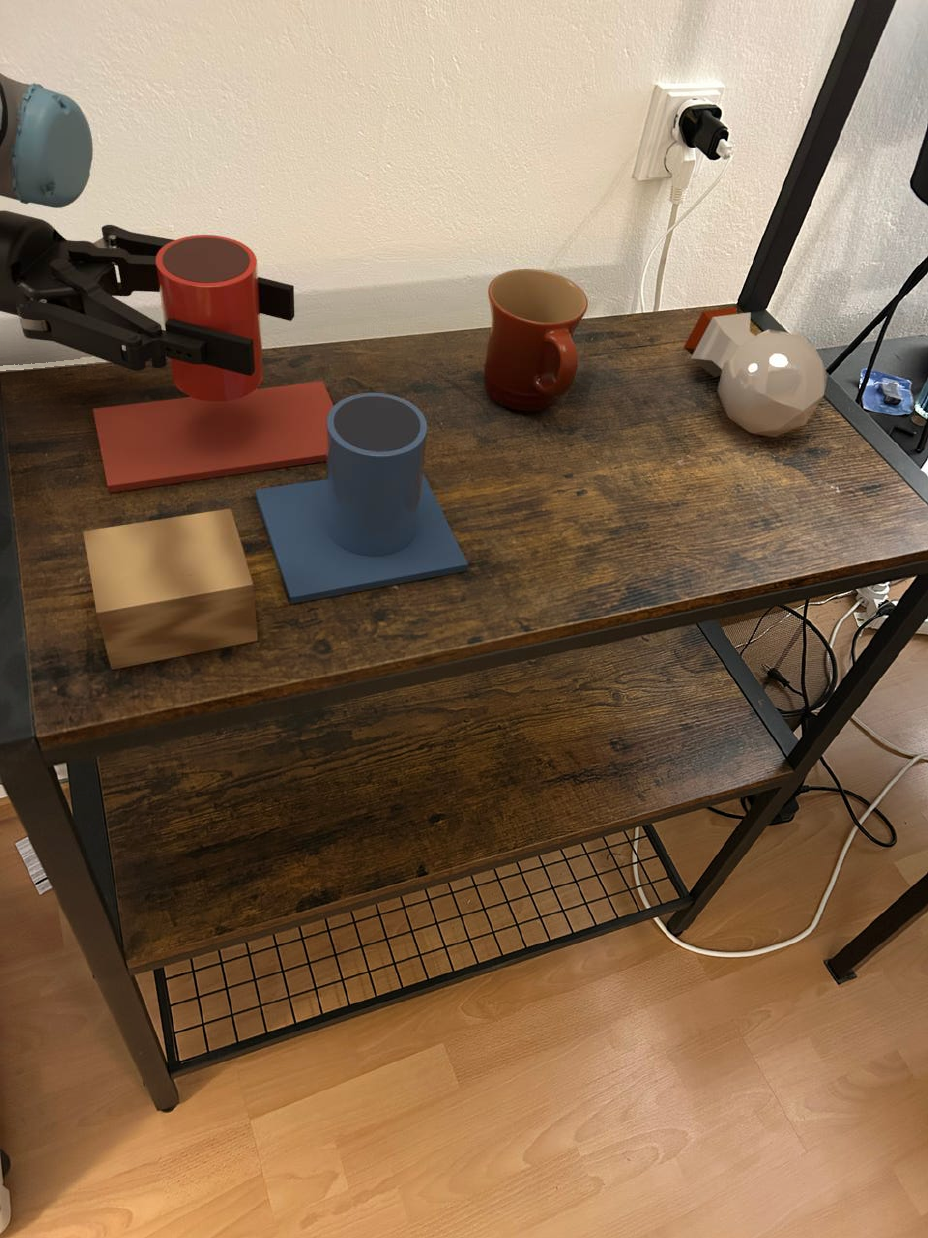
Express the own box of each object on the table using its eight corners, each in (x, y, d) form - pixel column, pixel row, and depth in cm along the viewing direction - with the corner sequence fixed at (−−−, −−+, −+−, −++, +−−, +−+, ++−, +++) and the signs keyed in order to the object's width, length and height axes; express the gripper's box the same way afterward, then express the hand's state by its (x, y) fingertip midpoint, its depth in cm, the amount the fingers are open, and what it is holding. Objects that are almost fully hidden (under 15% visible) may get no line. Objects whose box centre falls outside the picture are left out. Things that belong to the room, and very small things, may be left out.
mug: (460, 371, 93) (473, 273, 85) (542, 360, 96) (562, 264, 88) (509, 450, 86) (528, 351, 78) (596, 435, 89) (622, 338, 81)
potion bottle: (770, 474, 90) (686, 394, 100) (860, 409, 89) (765, 334, 99) (743, 412, 83) (656, 332, 93) (839, 339, 82) (740, 267, 92)
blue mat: (290, 604, 72) (290, 597, 71) (255, 496, 79) (254, 489, 78) (467, 571, 76) (468, 563, 75) (418, 471, 83) (419, 464, 82)
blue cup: (339, 563, 74) (342, 462, 66) (316, 500, 78) (315, 398, 70) (429, 547, 76) (441, 447, 68) (401, 487, 80) (409, 386, 73)
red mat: (109, 493, 77) (107, 485, 76) (94, 416, 83) (92, 408, 82) (352, 457, 83) (352, 450, 82) (322, 387, 89) (322, 380, 88)
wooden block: (111, 670, 66) (96, 612, 61) (98, 590, 70) (83, 531, 66) (258, 641, 69) (253, 584, 64) (236, 565, 73) (230, 507, 69)
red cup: (179, 407, 75) (163, 290, 67) (164, 353, 79) (148, 237, 72) (272, 395, 77) (266, 280, 70) (252, 343, 81) (245, 230, 74)
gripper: (72, 244, 85) (319, 306, 83) (-69, 370, 72) (221, 447, 70) (54, 158, 79) (319, 222, 77) (-102, 278, 66) (212, 359, 64)
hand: (272, 329), depth 74 cm, fingers closed on red cup, 7 cm apart
